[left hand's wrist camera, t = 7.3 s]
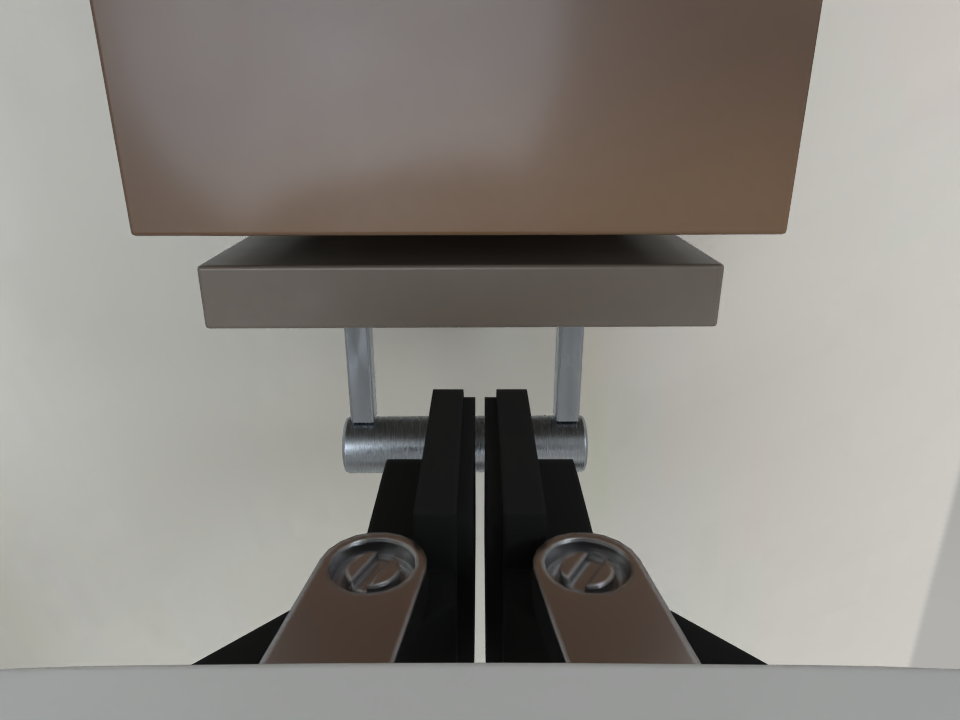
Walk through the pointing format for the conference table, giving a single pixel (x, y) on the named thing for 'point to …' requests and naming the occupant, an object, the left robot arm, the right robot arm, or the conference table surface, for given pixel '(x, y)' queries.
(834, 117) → the conference table surface
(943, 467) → the conference table surface
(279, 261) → the drawer
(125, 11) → the cabinet
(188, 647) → the conference table surface
